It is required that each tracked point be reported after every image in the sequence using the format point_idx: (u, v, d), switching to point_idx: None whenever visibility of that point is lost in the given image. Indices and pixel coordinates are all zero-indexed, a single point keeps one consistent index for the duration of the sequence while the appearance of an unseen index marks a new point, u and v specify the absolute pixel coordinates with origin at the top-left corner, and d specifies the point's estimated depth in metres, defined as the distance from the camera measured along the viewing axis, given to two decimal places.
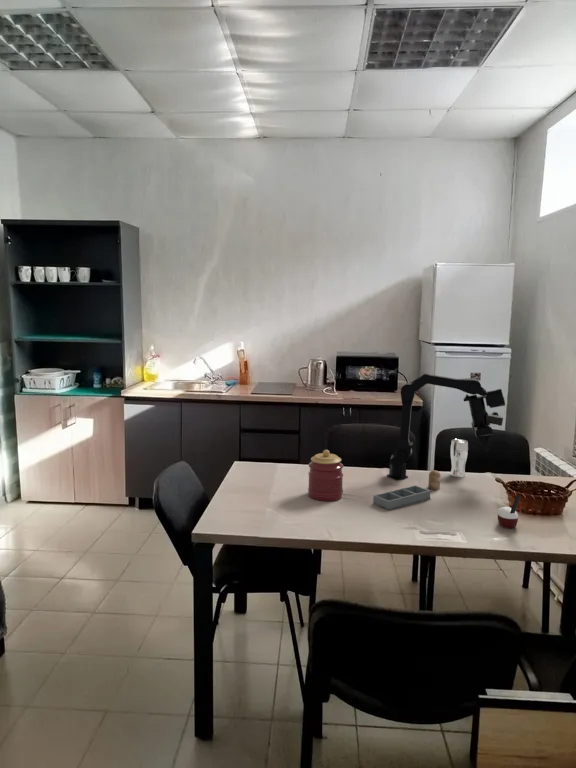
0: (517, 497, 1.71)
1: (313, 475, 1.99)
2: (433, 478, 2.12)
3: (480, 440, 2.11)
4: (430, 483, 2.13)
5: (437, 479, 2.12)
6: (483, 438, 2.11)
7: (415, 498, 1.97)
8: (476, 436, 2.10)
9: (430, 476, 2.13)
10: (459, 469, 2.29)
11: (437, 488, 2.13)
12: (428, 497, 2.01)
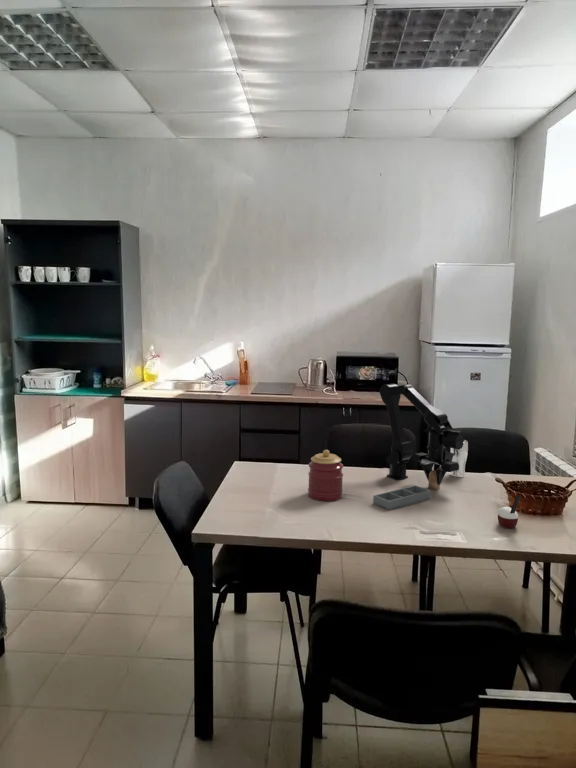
0: (517, 497, 1.71)
1: (313, 475, 1.99)
2: (433, 478, 2.12)
3: (440, 474, 2.09)
4: (430, 483, 2.13)
5: None
6: (441, 472, 2.10)
7: (415, 498, 1.97)
8: (440, 470, 2.08)
9: (430, 476, 2.13)
10: (459, 469, 2.29)
11: (437, 488, 2.13)
12: (428, 497, 2.01)
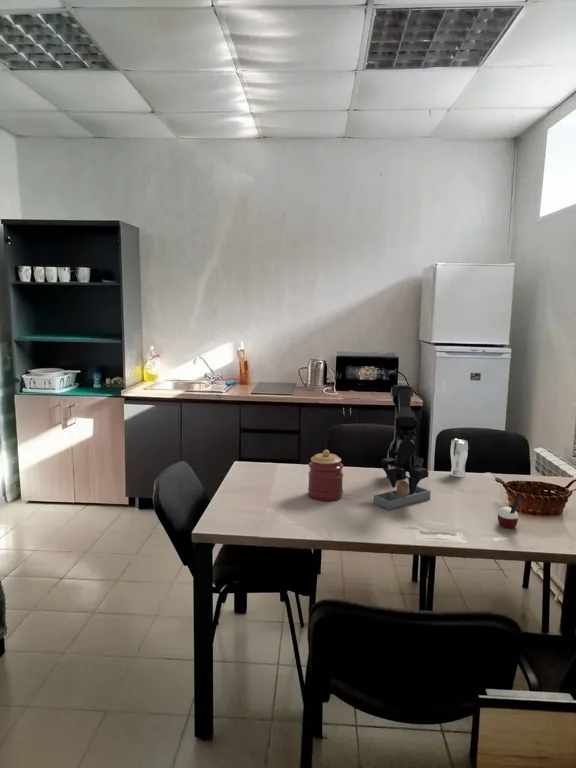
0: (517, 497, 1.71)
1: (313, 475, 1.99)
2: (400, 489, 1.96)
3: (412, 483, 1.92)
4: (398, 494, 1.97)
5: (405, 490, 1.96)
6: (414, 481, 1.93)
7: (415, 498, 1.97)
8: (413, 479, 1.90)
9: (398, 487, 1.97)
10: (459, 469, 2.29)
11: None
12: (428, 497, 2.01)
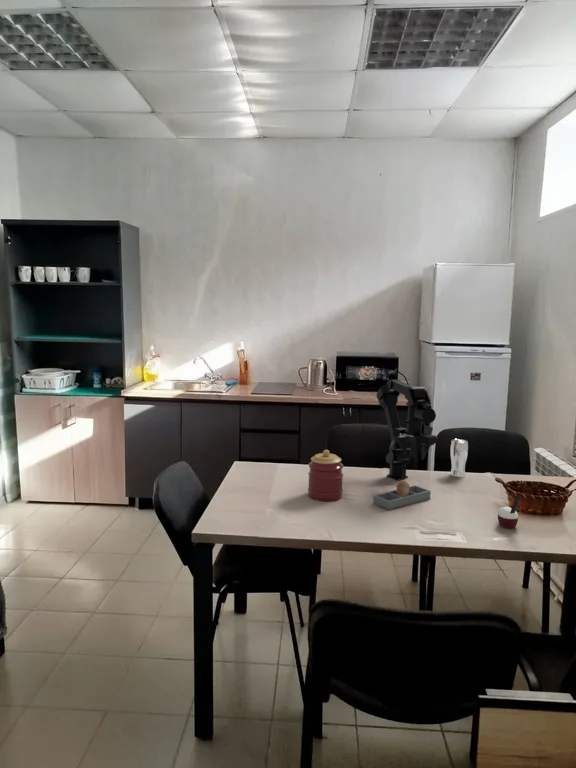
0: (517, 497, 1.71)
1: (313, 475, 1.99)
2: (400, 489, 1.96)
3: (423, 449, 2.08)
4: (398, 494, 1.97)
5: (405, 490, 1.96)
6: (424, 447, 2.09)
7: (415, 498, 1.97)
8: (423, 444, 2.06)
9: (398, 487, 1.97)
10: (459, 469, 2.29)
11: None
12: (428, 497, 2.01)
